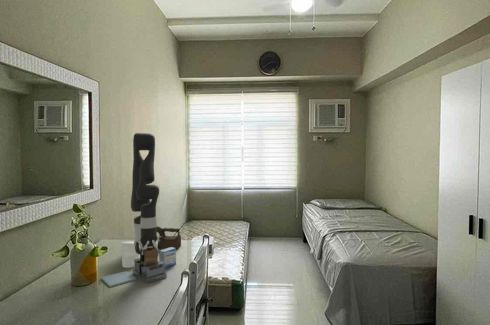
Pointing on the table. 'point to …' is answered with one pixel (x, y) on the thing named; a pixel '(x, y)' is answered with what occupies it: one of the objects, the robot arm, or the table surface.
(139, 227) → the robot arm
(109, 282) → the slate mat
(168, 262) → the medicine box
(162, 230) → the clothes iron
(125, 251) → the white tapered container
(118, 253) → the table surface
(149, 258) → the walnut collar
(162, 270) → the vise
